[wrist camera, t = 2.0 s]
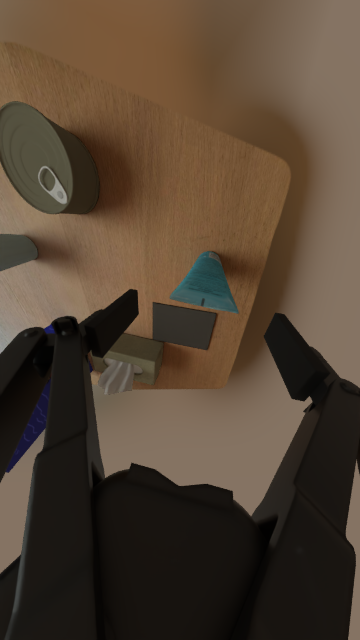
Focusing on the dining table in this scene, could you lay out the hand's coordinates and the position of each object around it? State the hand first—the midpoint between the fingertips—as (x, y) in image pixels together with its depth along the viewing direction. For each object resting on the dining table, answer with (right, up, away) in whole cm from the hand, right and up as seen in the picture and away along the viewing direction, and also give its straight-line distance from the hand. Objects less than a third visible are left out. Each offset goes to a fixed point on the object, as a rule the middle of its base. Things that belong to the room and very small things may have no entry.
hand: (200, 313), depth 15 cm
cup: (-39, +17, +23) cm, 49 cm away
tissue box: (-16, -9, +34) cm, 39 cm away
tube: (+4, +11, +17) cm, 21 cm away
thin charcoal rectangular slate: (-2, -3, +27) cm, 27 cm away
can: (-22, +26, +14) cm, 37 cm away
